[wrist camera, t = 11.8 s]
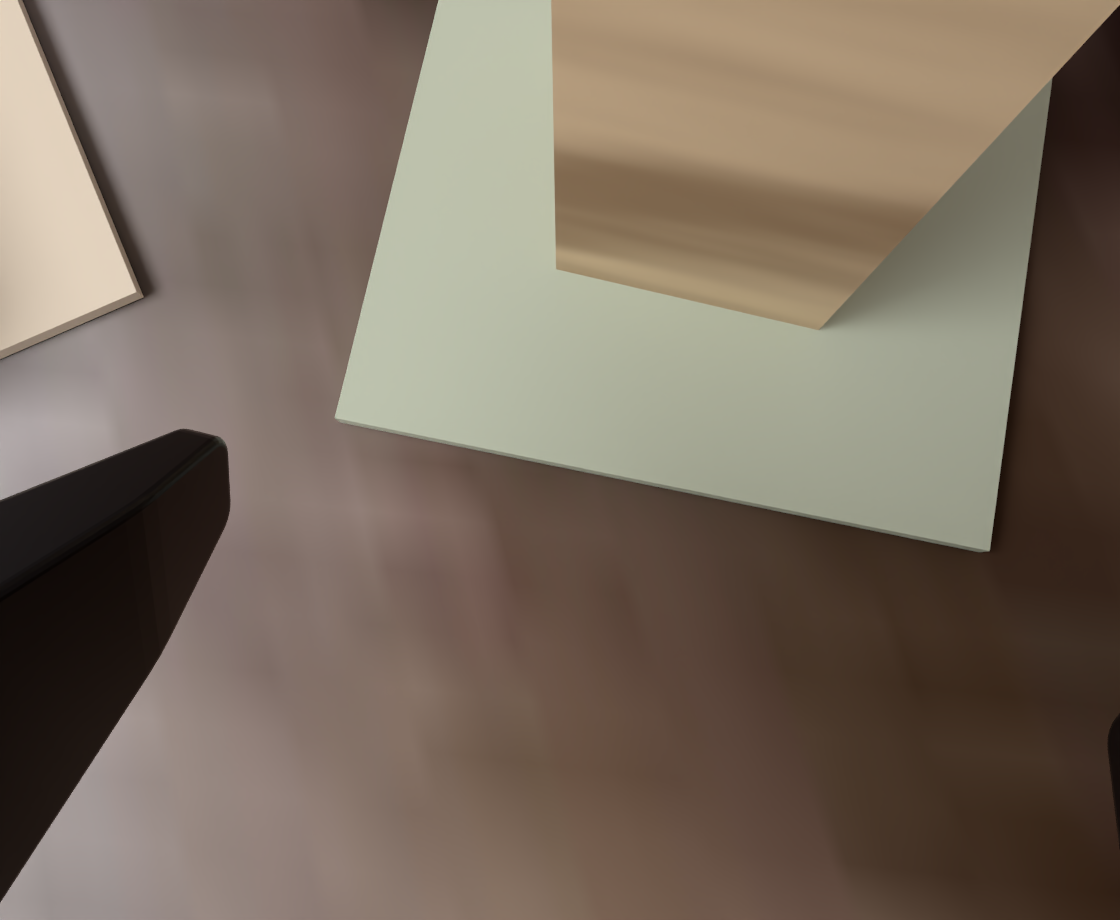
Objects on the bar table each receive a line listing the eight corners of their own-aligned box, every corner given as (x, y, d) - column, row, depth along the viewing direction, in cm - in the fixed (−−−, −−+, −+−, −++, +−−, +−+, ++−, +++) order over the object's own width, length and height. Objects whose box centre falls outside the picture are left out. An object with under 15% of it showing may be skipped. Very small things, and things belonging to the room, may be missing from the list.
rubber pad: (979, 552, 17) (989, 550, 17) (339, 422, 17) (334, 417, 17) (1057, -31, 19) (1068, -46, 18) (478, -137, 19) (476, -153, 19)
